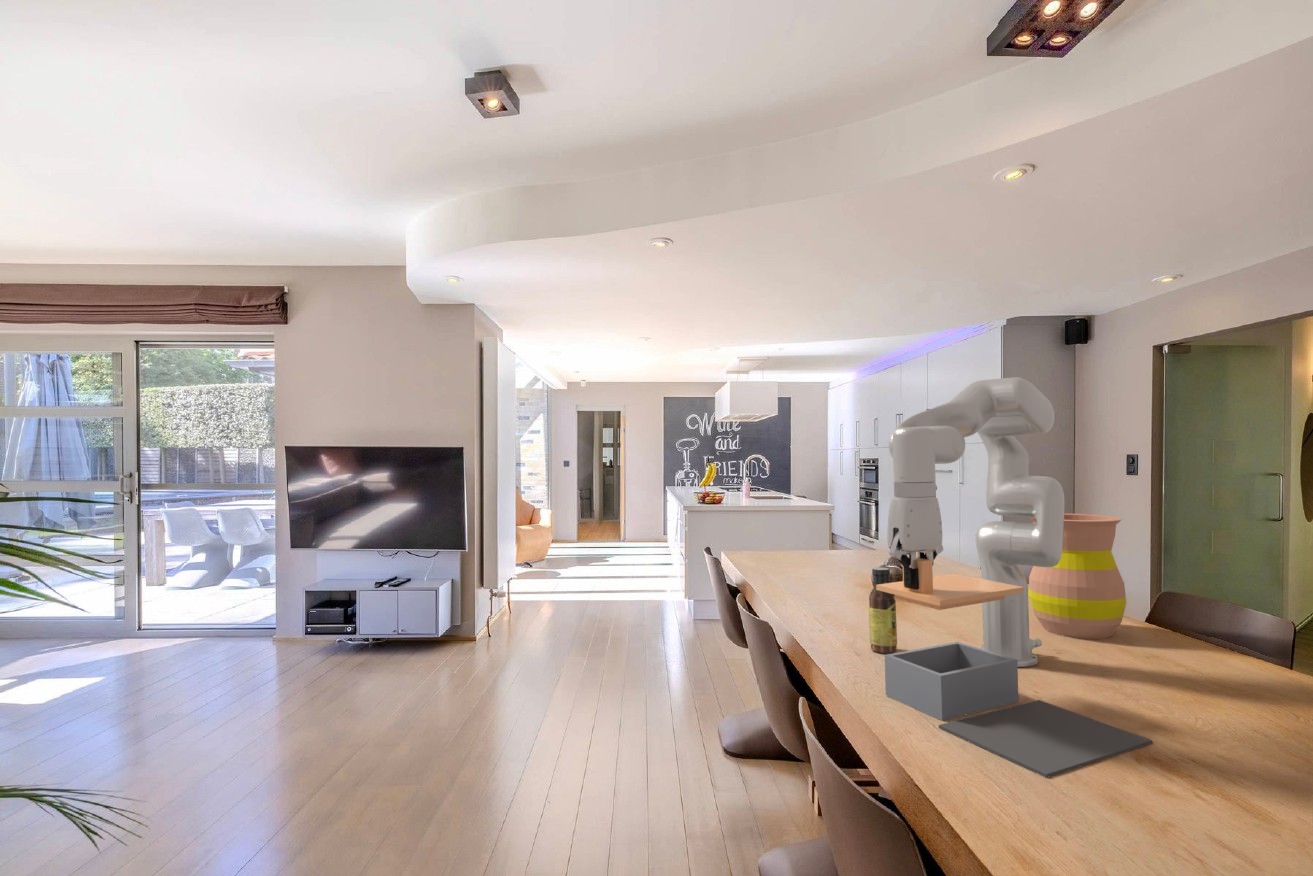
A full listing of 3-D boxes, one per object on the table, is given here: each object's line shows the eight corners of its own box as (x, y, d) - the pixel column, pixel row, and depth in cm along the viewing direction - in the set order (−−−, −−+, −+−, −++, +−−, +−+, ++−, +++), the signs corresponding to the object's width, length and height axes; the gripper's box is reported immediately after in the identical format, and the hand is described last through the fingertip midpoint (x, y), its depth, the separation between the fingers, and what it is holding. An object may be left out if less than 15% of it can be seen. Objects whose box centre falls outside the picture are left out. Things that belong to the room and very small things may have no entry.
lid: (956, 585, 143) (954, 545, 143) (1024, 600, 128) (1022, 555, 128) (876, 597, 134) (875, 554, 134) (940, 614, 119) (938, 566, 119)
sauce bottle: (899, 655, 159) (897, 571, 159) (871, 654, 160) (869, 570, 160) (895, 647, 165) (893, 566, 165) (868, 646, 166) (866, 566, 167)
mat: (1038, 702, 128) (1038, 700, 128) (1152, 743, 109) (1152, 740, 109) (938, 727, 117) (938, 725, 117) (1046, 777, 99) (1046, 774, 99)
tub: (958, 679, 141) (957, 641, 141) (1018, 701, 128) (1017, 659, 128) (885, 695, 133) (884, 655, 133) (942, 720, 120) (940, 675, 120)
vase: (1016, 619, 189) (1013, 513, 190) (1100, 621, 186) (1096, 513, 187) (1050, 641, 167) (1047, 521, 168) (1146, 643, 164) (1142, 521, 165)
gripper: (930, 488, 135) (933, 579, 135) (868, 492, 128) (871, 588, 128) (961, 490, 128) (964, 586, 128) (897, 494, 121) (900, 596, 121)
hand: (917, 586), depth 128 cm, fingers closed on lid, 2 cm apart
